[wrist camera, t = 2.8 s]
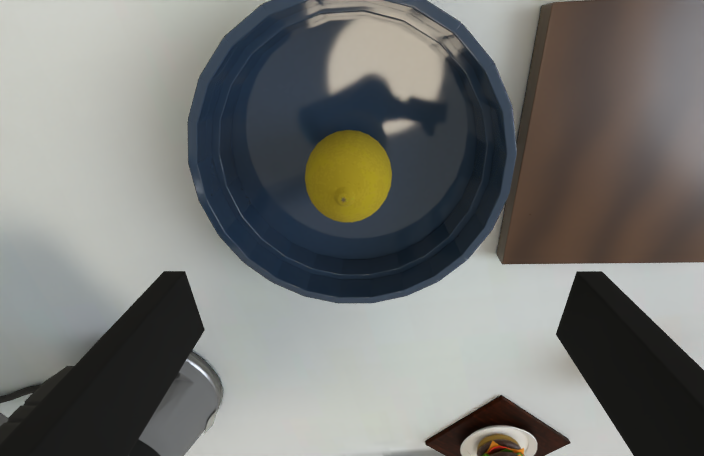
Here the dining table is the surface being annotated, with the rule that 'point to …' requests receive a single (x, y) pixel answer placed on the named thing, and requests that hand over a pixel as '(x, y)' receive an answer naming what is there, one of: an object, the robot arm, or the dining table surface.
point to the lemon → (348, 176)
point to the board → (611, 137)
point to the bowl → (360, 115)
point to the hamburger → (498, 433)
